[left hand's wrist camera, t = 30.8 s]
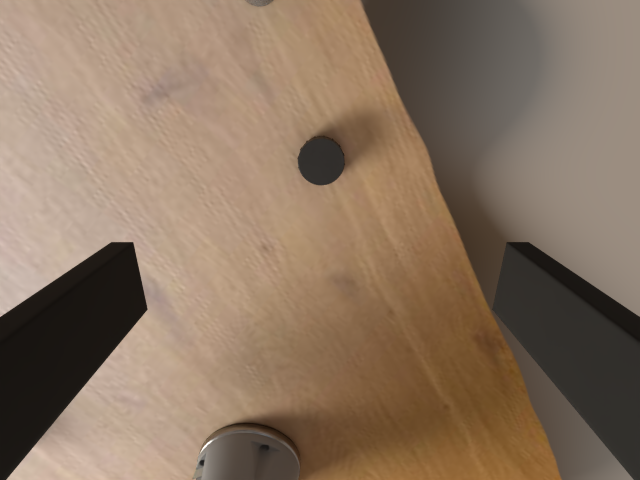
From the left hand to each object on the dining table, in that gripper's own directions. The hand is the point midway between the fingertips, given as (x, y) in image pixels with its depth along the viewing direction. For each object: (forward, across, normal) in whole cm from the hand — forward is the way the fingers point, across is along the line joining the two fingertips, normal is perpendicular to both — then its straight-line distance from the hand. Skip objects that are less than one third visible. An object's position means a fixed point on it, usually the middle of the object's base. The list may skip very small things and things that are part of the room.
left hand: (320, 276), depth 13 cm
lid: (+24, 0, 0) cm, 24 cm away
